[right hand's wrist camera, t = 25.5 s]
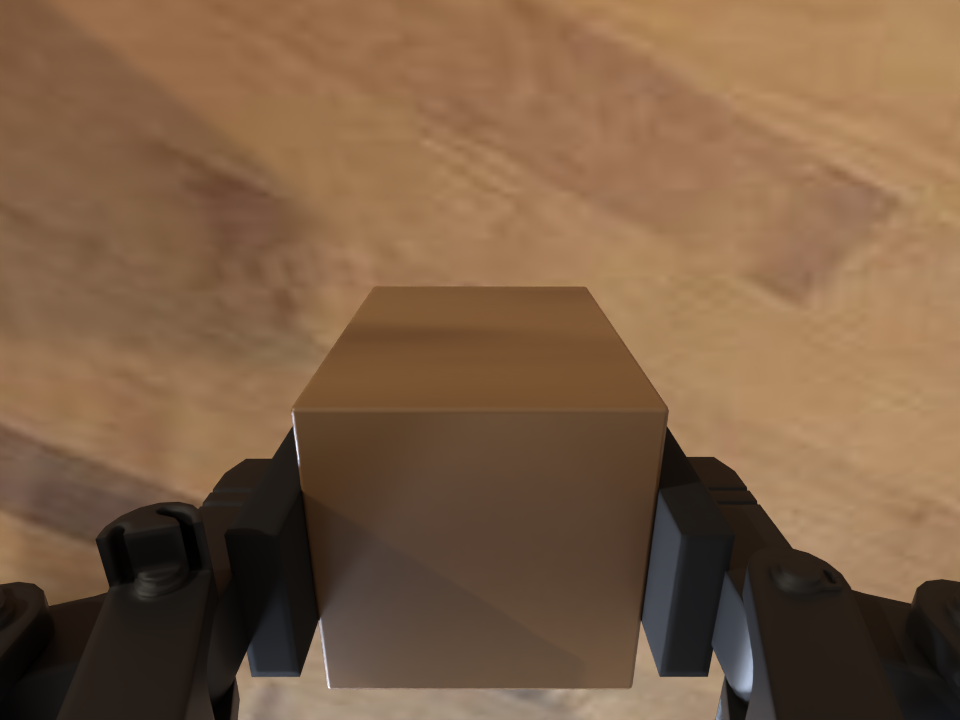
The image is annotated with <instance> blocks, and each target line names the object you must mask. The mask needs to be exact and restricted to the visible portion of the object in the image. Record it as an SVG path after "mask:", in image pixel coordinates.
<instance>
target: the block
mask: <svg viewBox="0 0 960 720" xmlns="http://www.w3.org/2000/svg"><path fill="white" fill-rule="evenodd" d="M668 413H669V410H668V407H667V406H666V404H665V403H664V401H663V400H662V398H661V397H660V395H659V394H658V392H657V391H656V389H655V388H654V387H653V385H652V384H651V382H650V381H649V379H648V378H647V376H646V375H645V373H644V372H643V370H642V369H641V367H640V366H639V364H638V363H637V361H636V360H635V359H634V357H633V356H632V354H631V353H630V351H629V350H628V348H627V347H626V345H625V344H624V342H623V341H622V339H621V338H620V336H619V335H618V333H617V332H616V330H615V329H614V328H613V326H612V325H611V323H610V322H609V320H608V319H607V317H606V316H605V314H604V313H603V311H602V310H601V308H600V307H599V305H598V304H597V302H596V301H595V299H594V298H593V297H592V295H591V294H590V292H589V291H588V289H587V288H586V287H374V288H373V289H372V290H371V292H370V293H369V295H368V296H367V298H366V299H365V301H364V302H363V304H362V305H361V307H360V308H359V309H358V311H357V312H356V314H355V315H354V317H353V318H352V320H351V321H350V323H349V324H348V326H347V327H346V329H345V330H344V332H343V333H342V334H341V336H340V337H339V339H338V340H337V342H336V343H335V345H334V346H333V348H332V349H331V351H330V352H329V354H328V355H327V357H326V358H325V360H324V361H323V362H322V364H321V365H320V367H319V368H318V370H317V371H316V373H315V374H314V376H313V377H312V379H311V380H310V382H309V383H308V385H307V386H306V388H305V389H304V390H303V392H302V393H301V395H300V396H299V398H298V399H297V401H296V402H295V404H294V405H293V407H292V409H291V415H292V422H293V430H294V437H295V445H296V452H297V460H298V468H299V475H300V483H301V490H302V497H303V505H304V512H305V520H306V528H307V535H308V543H309V550H310V558H311V566H312V573H313V581H314V588H315V596H316V604H317V611H318V619H319V627H320V635H321V642H322V650H323V657H324V665H325V672H326V680H327V686H328V688H330V689H630V688H631V687H632V684H633V676H634V669H635V661H636V654H637V646H638V639H639V631H640V624H641V615H642V608H643V600H644V593H645V585H646V578H647V570H648V563H649V555H650V548H651V540H652V533H653V525H654V518H655V510H656V502H657V495H658V488H659V481H660V473H661V466H662V458H663V451H664V443H665V435H666V428H667V420H668Z"/></svg>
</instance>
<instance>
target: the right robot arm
mask: <svg viewBox="0 0 960 720" xmlns="http://www.w3.org/2000/svg"><path fill="white" fill-rule="evenodd" d="M96 543H97V546H98V549H99V553H100V556H101V560H102V563H103V566H104V570H105V573H106V577H107V580H108V583H109V587H110V588H109V591H108V592H107V593H104V594H100V595H97V596H93V597H89V598H84V599H80V600H75V601H71V602H66V603H62V604H57V605H52V606H49V605H48V603H47V600H46V597H45V594H44V591H43V590H42V589H40V588H39V587H38V586H36V585H35V584H31V583H23V582H14V583H8V584H1V585H0V720H238V711H239V700H240V699H239V692H238V686H237V681H236V677H235V676H236V674H237V671H238V669H239V667H240V665H241V662H242V660H243V658H244V656H245V654H246V651H247V655H248V660H249V665H250V670H251V675H252V677H300V675H301V672H302V669H303V666H304V663H305V660H306V657H307V654H308V650H309V647H310V644H311V641H312V638H313V635H314V632H315V629H316V626H317V623H318V620H319V619H318V611H317V604H316V596H315V588H314V581H313V573H312V566H311V558H310V550H309V543H308V535H307V528H306V520H305V512H304V505H303V497H302V490H301V483H300V475H299V468H298V460H297V452H296V445H295V437H294V430H293V426H292V428H291V430H290V431H289V433H288V434H287V436H286V438H285V439H284V441H283V442H282V444H281V445H280V447H279V449H278V450H277V452H276V453H275V455H274V456H273V458H272V459H245V460H244V461H242V462H241V463H239V464H238V465H236V466H235V467H233V468H232V469H230V470H229V471H227V472H226V473H225V474H224V475H223V477H222V478H221V479H220V481H219V482H218V483H217V485H216V486H215V487H214V489H213V493H210V494H209V495H208V497H207V498H206V499H205V501H204V502H203V506H202V507H200V508H199V509H197V508H196V507H194V506H193V505H190V504H186V503H181V502H166V503H157V504H153V505H149V506H145V507H141V508H138V509H136V510H134V511H131V512H129V513H127V514H125V515H122V516H120V517H119V518H117V519H116V520H115V521H113V522H112V523H110V524H109V525H107V526H106V527H105V528H104V529H103V530H102V532H101V533H100V534H99V535H98V537H97V538H96ZM641 621H642V624H643V627H644V630H645V633H646V636H647V640H648V643H649V646H650V649H651V652H652V655H653V658H654V661H655V664H656V667H657V670H658V673H659V676H660V677H708V673H709V668H710V663H711V658H712V652H713V649H714V652H715V654H716V656H717V658H718V660H719V663H720V665H721V667H722V669H723V672H724V674H725V677H724V681H723V686H722V691H721V696H720V700H719V705H718V710H717V715H716V720H960V582H956V581H950V580H943V579H941V580H933V581H926V582H924V583H923V584H922V585H920V586H919V587H918V588H917V589H916V592H915V595H914V598H913V601H912V604H910V603H905V602H901V601H896V600H892V599H887V598H882V597H878V596H873V595H869V594H864V593H861V592H858V591H854V590H851V587H850V586H849V584H848V583H847V581H846V580H845V578H844V577H843V575H842V574H841V573H840V572H838V571H837V570H836V569H835V568H833V567H832V566H831V565H830V564H828V563H827V562H825V561H823V560H821V559H819V558H817V557H815V556H813V555H811V554H809V553H806V552H803V551H799V550H796V549H793V548H792V547H791V546H790V544H789V543H788V542H787V540H786V539H785V538H784V536H783V535H782V534H781V532H780V531H779V530H778V528H777V527H776V526H775V524H774V523H773V522H772V520H771V519H770V518H769V516H768V515H767V514H766V512H765V511H764V510H763V508H762V507H761V506H760V505H758V504H757V500H756V499H755V498H754V496H753V495H752V494H751V492H750V491H747V487H746V486H745V484H744V483H743V482H742V480H741V479H740V478H739V476H738V475H737V474H736V472H735V471H734V470H732V469H731V468H729V467H728V466H726V465H725V464H723V463H722V462H720V461H719V460H717V459H716V458H715V457H686V456H685V454H684V452H683V451H682V449H681V448H680V446H679V445H678V443H677V441H676V440H675V438H674V437H673V435H672V433H671V432H670V430H669V429H668V427H667V428H666V435H665V443H664V451H663V458H662V466H661V473H660V481H659V488H658V495H657V502H656V510H655V518H654V525H653V533H652V540H651V548H650V555H649V563H648V570H647V578H646V585H645V593H644V600H643V608H642V615H641Z"/></svg>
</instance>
